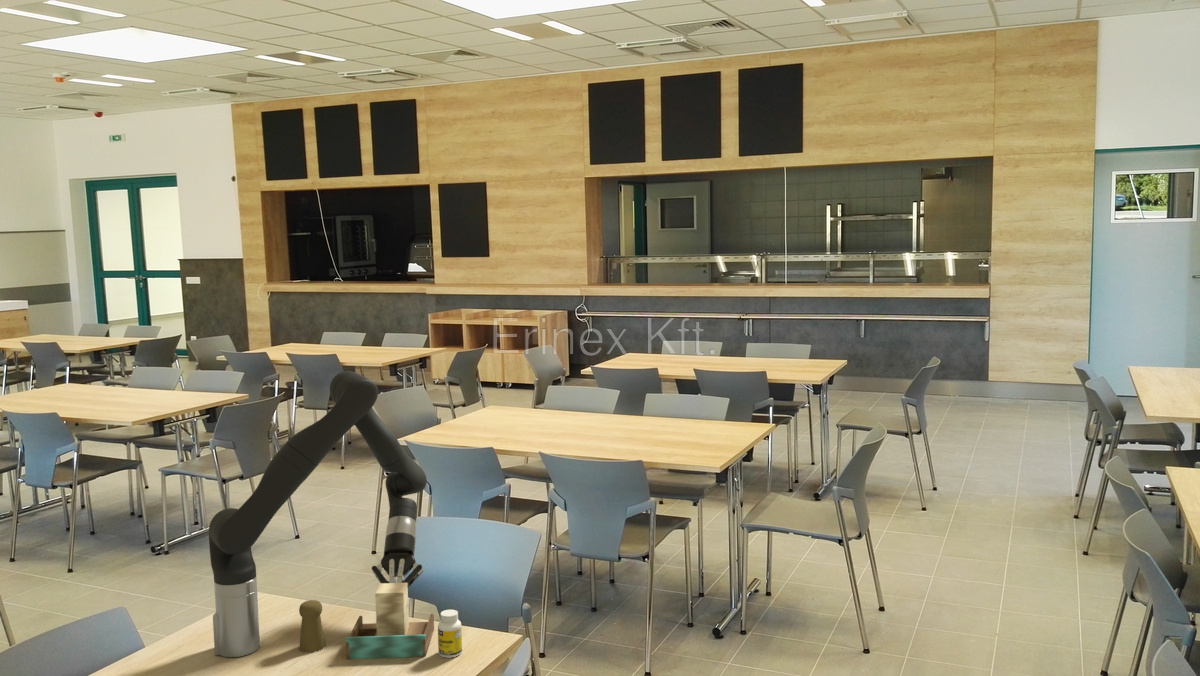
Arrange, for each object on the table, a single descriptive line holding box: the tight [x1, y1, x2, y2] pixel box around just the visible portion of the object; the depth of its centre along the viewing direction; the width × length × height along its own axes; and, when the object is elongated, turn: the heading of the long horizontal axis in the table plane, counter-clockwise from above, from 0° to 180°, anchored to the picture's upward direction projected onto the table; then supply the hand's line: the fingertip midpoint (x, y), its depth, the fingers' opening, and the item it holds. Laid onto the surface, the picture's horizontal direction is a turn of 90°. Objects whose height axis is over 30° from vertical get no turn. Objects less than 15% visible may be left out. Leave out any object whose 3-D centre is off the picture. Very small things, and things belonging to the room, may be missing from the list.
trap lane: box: [345, 613, 435, 660], centre depth 222 cm, size 18×15×5 cm
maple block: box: [374, 582, 410, 636], centre depth 223 cm, size 6×6×11 cm
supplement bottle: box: [437, 609, 463, 659], centre depth 216 cm, size 5×5×10 cm
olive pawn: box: [298, 599, 327, 653], centre depth 221 cm, size 6×6×11 cm
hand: (394, 603), depth 227 cm, fingers closed
